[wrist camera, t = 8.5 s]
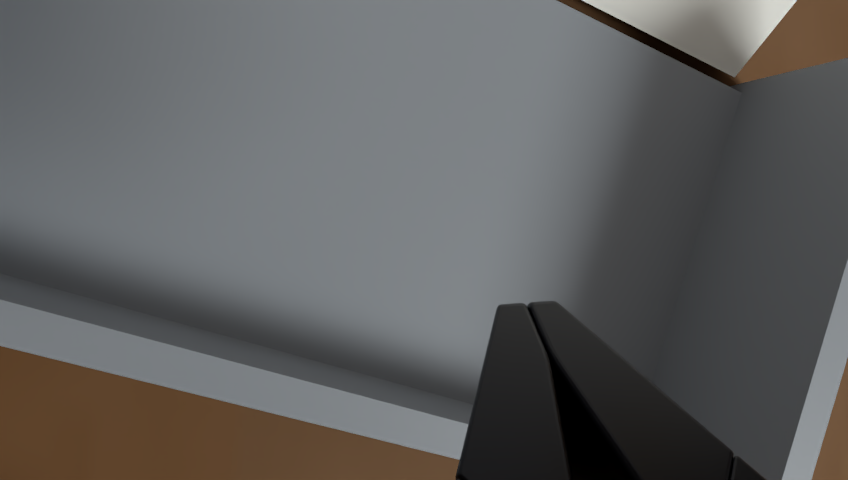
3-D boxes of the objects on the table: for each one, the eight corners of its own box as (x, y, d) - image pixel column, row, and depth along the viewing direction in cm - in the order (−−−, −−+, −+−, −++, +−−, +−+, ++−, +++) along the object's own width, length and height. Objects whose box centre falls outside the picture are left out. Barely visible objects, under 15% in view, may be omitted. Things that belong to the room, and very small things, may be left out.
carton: (632, 472, 25) (784, 570, 18) (-138, 269, 17) (-361, 307, 11) (749, 96, 25) (936, 56, 19) (58, -249, 18) (-38, -514, 12)
